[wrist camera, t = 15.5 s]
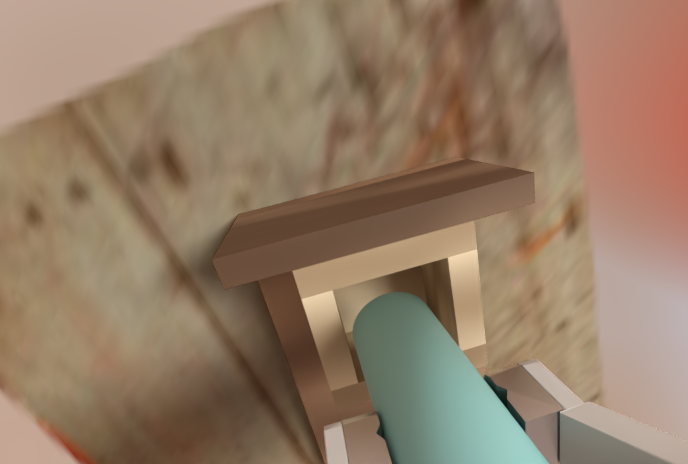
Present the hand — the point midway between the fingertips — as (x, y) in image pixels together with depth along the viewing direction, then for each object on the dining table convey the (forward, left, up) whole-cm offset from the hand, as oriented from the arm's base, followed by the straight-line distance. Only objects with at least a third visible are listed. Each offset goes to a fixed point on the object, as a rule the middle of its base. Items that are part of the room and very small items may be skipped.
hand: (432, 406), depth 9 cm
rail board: (-5, 0, -10) cm, 11 cm away
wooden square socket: (0, 0, -9) cm, 9 cm away
